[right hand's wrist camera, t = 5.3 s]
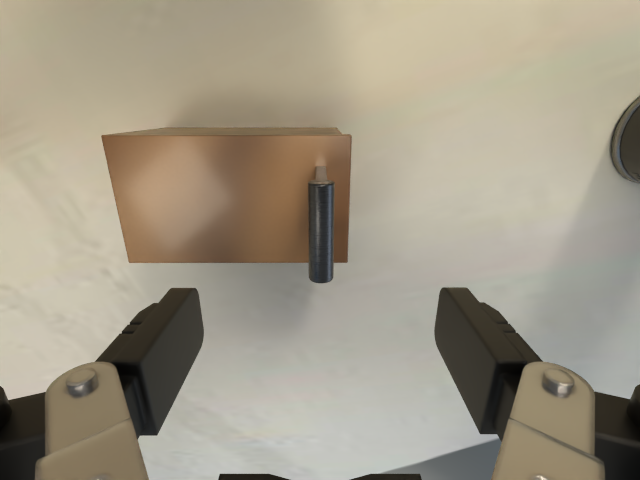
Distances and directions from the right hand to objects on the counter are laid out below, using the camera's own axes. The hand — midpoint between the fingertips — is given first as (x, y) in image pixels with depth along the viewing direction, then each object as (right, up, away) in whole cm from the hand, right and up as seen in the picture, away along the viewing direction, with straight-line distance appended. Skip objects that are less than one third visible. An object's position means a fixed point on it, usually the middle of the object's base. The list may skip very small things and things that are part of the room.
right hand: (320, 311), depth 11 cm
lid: (-6, +5, +14) cm, 17 cm away
